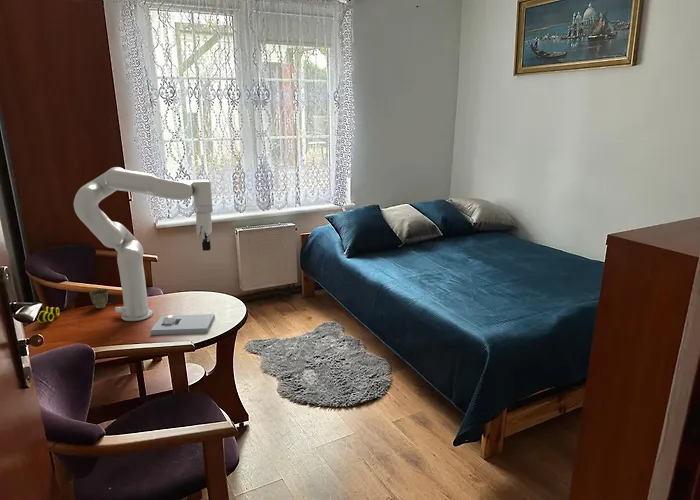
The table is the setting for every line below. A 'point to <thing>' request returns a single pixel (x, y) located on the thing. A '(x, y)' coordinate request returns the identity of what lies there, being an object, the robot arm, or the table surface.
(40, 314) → the yellow looped piece
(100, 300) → the cup
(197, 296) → the table surface
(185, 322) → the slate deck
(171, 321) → the steel ball
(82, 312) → the table surface
